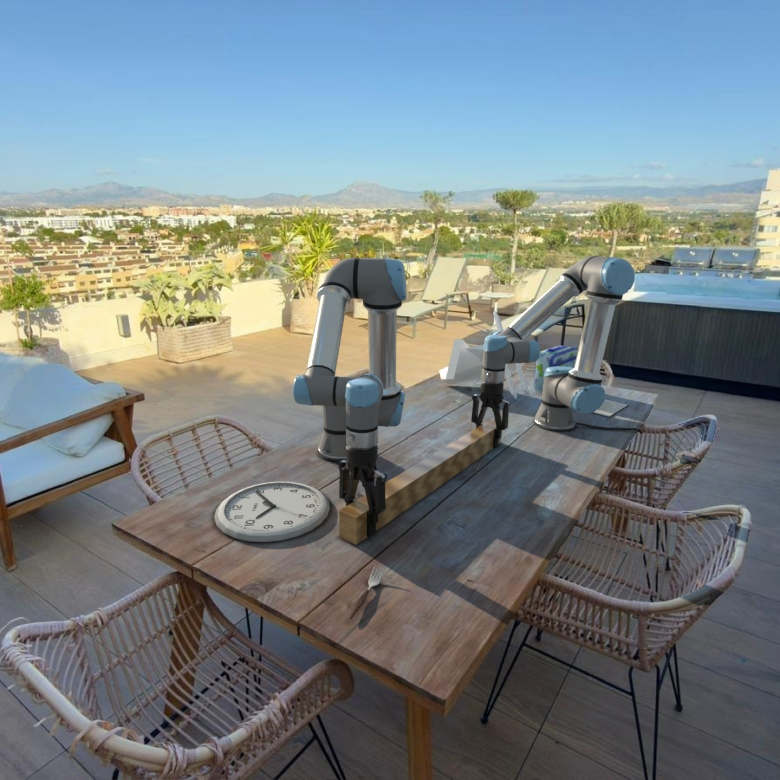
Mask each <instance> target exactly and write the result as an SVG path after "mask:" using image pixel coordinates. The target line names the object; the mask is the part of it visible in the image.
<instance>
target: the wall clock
mask: <svg viewBox="0 0 780 780" xmlns="http://www.w3.org/2000/svg"><path fill="white" fill-rule="evenodd" d="M330 509H331V506H330V501H329V499H328V497H327V496H326V495H325V493H323V492H322V491H320V490H318V488H315V487H313V486H312V485H311V486H310V485H308V484H305V483H300V482H295V481H294V482H292V481H269V482H263V483H262V482H261V483H258V484H253V485H250V486H246V487H244V488H242V489H240V490H238V491H236V492H233V493H232V494H230V495H229V496H227V498H224V500H222V501H221V502H220V504H219V505H218V507H216V509H215V513H214V518H213V519H214V522H215V525H216V527H217V528H218V529H219V530H220V531H221V532H222V533H223V534H225V535H226V536H229V537H231V538H233V539H235V540H236V539H237V540H240V541H245V542H250V543H251V542H252V543H271V542H280V541H285V540H289V539H293V538H297V537H300V536H302V535H304V534H308V532H311V531H313V530H314V529H316V528H317V527H319V526H320V525H322V523H323V522H324V521H325V520H326V519H327V518H328V516H329V513H330Z"/></svg>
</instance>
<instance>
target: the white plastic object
mask: <svg viewBox="0 0 780 780" xmlns="http://www.w3.org/2000/svg"><path fill="white" fill-rule="evenodd" d="M492 315H493V319H494V321H495V324H496V325H495V326H496V328H497V332H498V331H504V328H503V325H502V321H501V318H500V315H499V314H498V312H497V311H496V310H495V311H492ZM483 348H484V343H483V344H479V345H473V346H469V345H468V343H466V342H465V340H464V339H463V338H460V339H458V338H454V340H453V344H452V349H451V353H450V357H449V362H448V366H446V367H444V368H442V369H440V370H439V371H438V372H439V376H440V381H442V383H443V384H444V385H445V386H449V385H458V384H467V383H468V384H469V383H473V384H477V383H481V382H482V381H483V380H482V367H483ZM514 366H515V369H516V372H517V376H518V380H519V382H520V385H521V389H522V391H523V393H524V395H525V396H526V397H528V396H531V395H530V390H529V388H528V387H529V386H528V384H527V381H526V378H525V375H524V371H523V369H522V368H523V367H522V366H521V363H514ZM504 378H505V380H506V383H507V386H508V390H509V393H510V394H511V395H512V397H513V398H514V399H515V400H517V392H516V391H517V390H516V388H515V385H514V381H513V378H512V375H511V371H510V369H509V364H506V365H505V375H504Z"/></svg>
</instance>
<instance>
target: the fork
mask: <svg viewBox="0 0 780 780" xmlns="http://www.w3.org/2000/svg"><path fill="white" fill-rule="evenodd" d="M376 565H377V564H376V563H375V564H374V567H373V569H372V571H371V574H370V576H369V578H368V581H367V583H368V587H367V588H366V590H365V591H364V592H363V594H362V595H361V596H360V597H359V598H358V600H357V603H356V605H355V607H354V608H353V611H352V613H351V616H350V618H349V620H352V619H353V617H354V616H355V615H356V614H357V612H358V611H359V609H360V608H361V607H362V606H363V604H364V603H365V602H366V600H367V598H368V594H369V592H370V590H371V588H373V587H376V586H378V585H380V584H381V581H382V578H383V575H384V571H385V567H386V566H383V568H382V565H381V566H380V568H379V564H378V565H377V568H376ZM375 568H376V570H375ZM378 570H379V571H378ZM381 570H382V571H381Z"/></svg>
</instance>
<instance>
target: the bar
mask: <svg viewBox="0 0 780 780" xmlns="http://www.w3.org/2000/svg"><path fill="white" fill-rule="evenodd" d="M481 424H482V425H480V426H479V427H477V428H476V427H475V428H474V429H472V430H470V431H469V432H467V433H465V434H463V435H462V436H460V437H459V438H457V439H456V440H453V441H452V442H450V443H449V444H447V445H446V446H444V447H441V449H438V450H437V451H436V452H434V453H431V455H429V456H427V457H425V458H424V459H422V460H420V461H419V462H417V463H415V464H414V465H412V466H410V467H409V468H407V469H406V470H404V471H402V472H400V473H399V474H397V475H396V476H393V478H390V479H389V480H386V481H385V505H386V509H385V510H384V511H382V512H381V513H379V514H378V523H377V524H376V532H377V531H378V530H380V529H381V528H382V527H384V526H386V525H387V524H388V523H389V522H391V521H393V520H394V519H395V518H397V517H399V516H400V515H402V514H403V513H404V512H406V511H407V510H408V509H410V508H412V506H414V505H415V504H417V503H418V502H419V501H421V500H423V499H424V498H425V497H427V496H428V495H429V494H431V493H433V492H434V491H435V490H436V489H438V488H439V487H441V486H442V485H444V484H445V483H447V482H448V481H449V480H451V479H452V478H454V477H455V476H457V475H458V474H459V473H461V472H462V471H463V470H465V469H466V468H468V467H469V466H470V465H472V464H473V463H475V462H476V461H478V460H479V459H481V458H482V457H483V456H485V455H487V454H488V453H489V452H491V451H492V450H493V449H494V448H493V440H494V430H495V429H496V423H495V420H490V419H488V420H487V421H485V422H484V423H481ZM502 436H503V435H502ZM502 436H501V438H500V439H499V443H498V446H499V445H500V444H502V439H503V437H502ZM353 501H354V502H353V503H351V504H349V505H348V506H346V505H345V506H344V507H343V508H340V509H339V510H338V513H339V514H338V521H339V522H338V527H339V528H338V529H339V531H338V533H339V535H338V536H339V538H340V539H342V540H343V541H344V540H345V541H347V542H349V543H351V544H353V545H355V546H356V545H359V544H360V543H362V542H363V541H364V540H365V539H367V538H369V537H368V536H367V512H369V506H368V502H367V497H366V494H364V495H362V496H361V497H359V498H358V499H357V498H356V499H355V500H353Z"/></svg>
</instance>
